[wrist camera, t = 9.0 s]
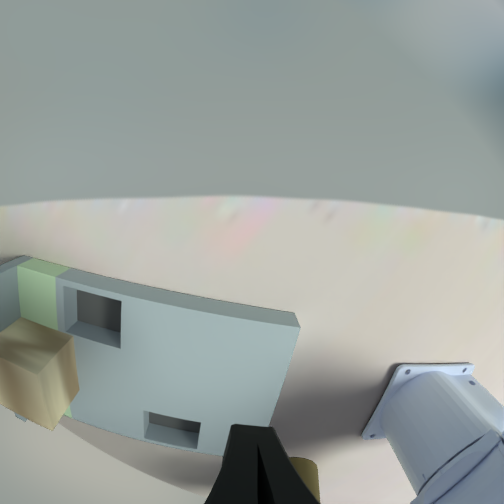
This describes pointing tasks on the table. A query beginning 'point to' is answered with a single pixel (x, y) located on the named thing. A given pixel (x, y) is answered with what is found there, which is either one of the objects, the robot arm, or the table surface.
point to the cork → (308, 474)
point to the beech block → (37, 372)
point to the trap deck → (156, 354)
